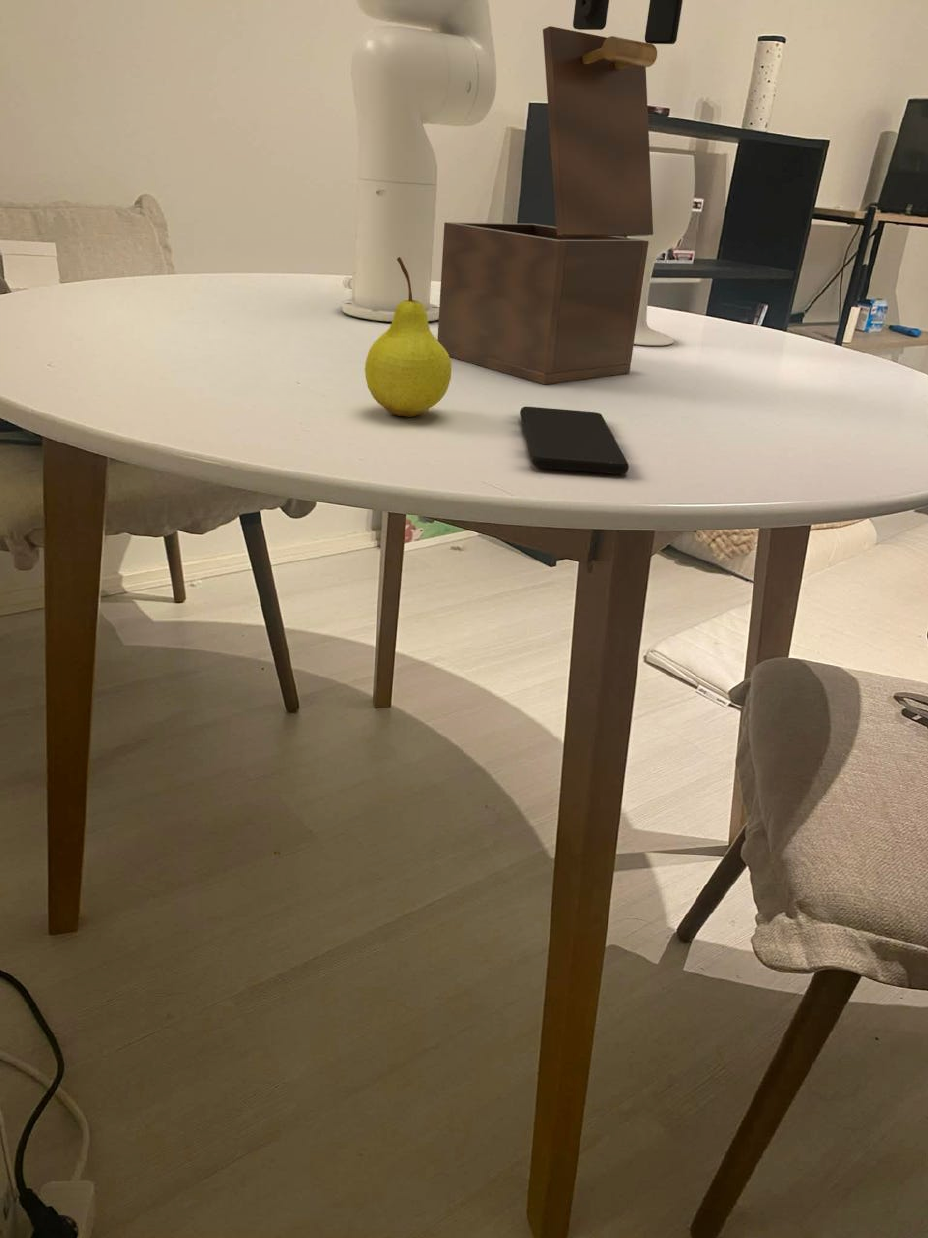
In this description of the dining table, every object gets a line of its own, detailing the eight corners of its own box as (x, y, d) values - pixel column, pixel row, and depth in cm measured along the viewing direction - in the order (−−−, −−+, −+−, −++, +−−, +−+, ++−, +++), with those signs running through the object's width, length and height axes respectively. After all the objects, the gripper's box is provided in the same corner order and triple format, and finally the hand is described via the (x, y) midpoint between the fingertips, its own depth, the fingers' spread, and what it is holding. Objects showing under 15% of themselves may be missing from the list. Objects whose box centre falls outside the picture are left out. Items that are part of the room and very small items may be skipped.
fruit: (464, 421, 80) (476, 265, 74) (394, 429, 76) (401, 266, 71) (416, 401, 85) (424, 253, 79) (348, 408, 81) (351, 253, 75)
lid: (542, 28, 84) (587, 9, 81) (637, 47, 93) (682, 30, 89) (556, 235, 89) (599, 226, 85) (646, 235, 97) (689, 227, 93)
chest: (436, 352, 105) (444, 222, 99) (521, 344, 113) (533, 223, 107) (544, 384, 94) (559, 240, 89) (629, 373, 102) (649, 240, 97)
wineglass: (678, 348, 118) (710, 156, 109) (607, 343, 118) (632, 150, 109) (666, 335, 126) (695, 155, 117) (599, 330, 126) (622, 149, 116)
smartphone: (602, 412, 82) (631, 465, 68) (600, 422, 82) (629, 476, 69) (520, 405, 82) (532, 457, 68) (519, 415, 82) (531, 468, 68)
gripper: (686, -179, 85) (652, 47, 93) (550, -239, 75) (525, 23, 82) (760, -191, 81) (718, 48, 88) (627, -257, 70) (592, 22, 77)
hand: (625, 36), depth 85 cm, fingers open, 9 cm apart
